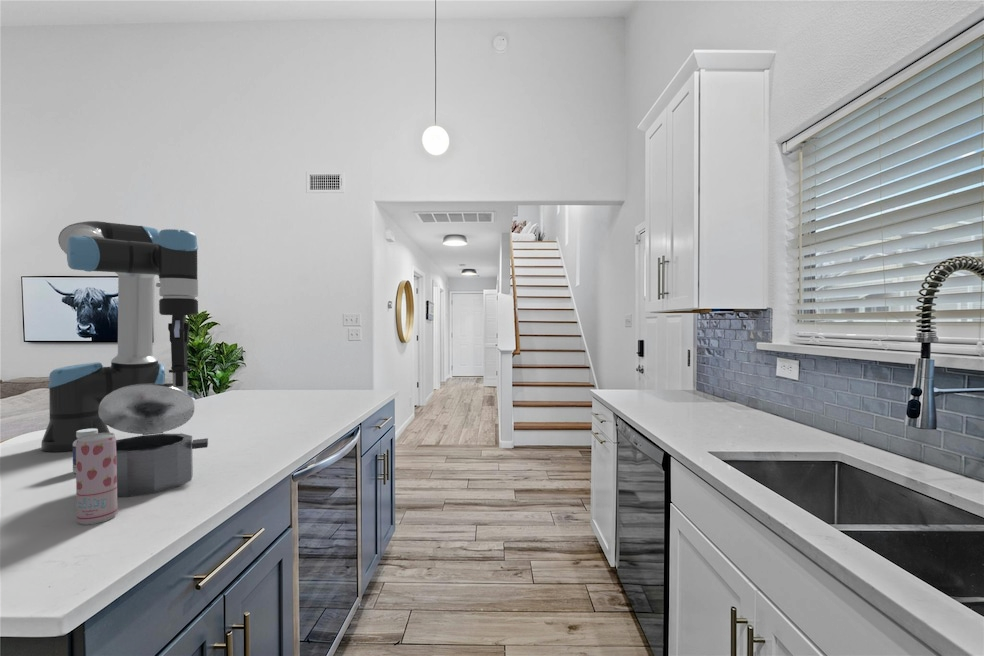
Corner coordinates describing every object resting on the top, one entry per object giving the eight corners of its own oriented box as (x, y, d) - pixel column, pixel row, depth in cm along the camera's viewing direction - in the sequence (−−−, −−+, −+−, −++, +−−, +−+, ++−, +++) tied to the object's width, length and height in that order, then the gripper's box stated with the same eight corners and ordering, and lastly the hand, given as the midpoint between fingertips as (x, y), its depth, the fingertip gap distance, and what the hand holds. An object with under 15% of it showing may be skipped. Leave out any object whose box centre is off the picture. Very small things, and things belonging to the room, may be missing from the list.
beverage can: (71, 527, 83) (69, 441, 83) (83, 515, 89) (82, 434, 88) (111, 521, 86) (110, 437, 85) (121, 510, 91) (120, 431, 91)
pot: (90, 480, 108) (90, 440, 108) (209, 465, 119) (209, 429, 119) (68, 505, 93) (67, 459, 93) (206, 485, 104) (205, 444, 104)
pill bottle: (85, 474, 112) (84, 433, 112) (66, 473, 113) (66, 432, 113) (108, 468, 118) (107, 428, 117) (90, 466, 119) (89, 427, 118)
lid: (106, 439, 110) (108, 429, 112) (196, 430, 118) (196, 422, 120) (90, 390, 99) (93, 380, 100) (192, 384, 107) (192, 375, 109)
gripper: (162, 298, 115) (164, 397, 115) (155, 296, 104) (156, 405, 104) (199, 299, 119) (200, 395, 119) (196, 297, 107) (197, 402, 108)
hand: (180, 400), depth 111 cm, fingers closed
